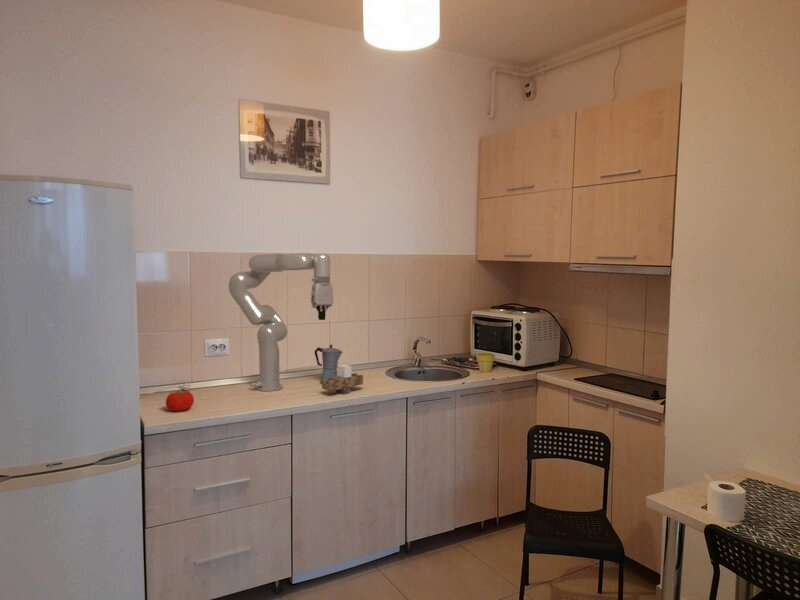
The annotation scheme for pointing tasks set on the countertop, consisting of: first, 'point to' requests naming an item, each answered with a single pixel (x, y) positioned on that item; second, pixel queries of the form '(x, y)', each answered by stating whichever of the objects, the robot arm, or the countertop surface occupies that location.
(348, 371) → the white block
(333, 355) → the moka pot
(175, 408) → the tomato
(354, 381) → the beam
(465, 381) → the countertop surface
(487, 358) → the plant pot
